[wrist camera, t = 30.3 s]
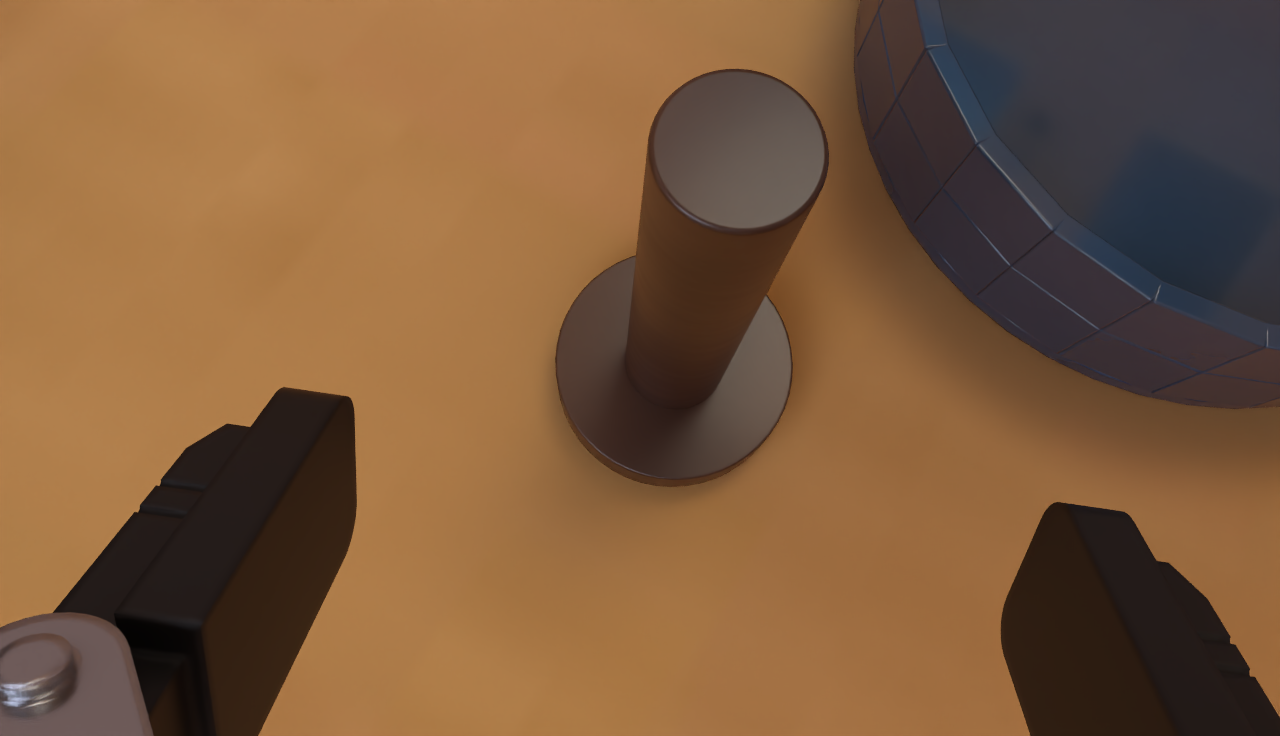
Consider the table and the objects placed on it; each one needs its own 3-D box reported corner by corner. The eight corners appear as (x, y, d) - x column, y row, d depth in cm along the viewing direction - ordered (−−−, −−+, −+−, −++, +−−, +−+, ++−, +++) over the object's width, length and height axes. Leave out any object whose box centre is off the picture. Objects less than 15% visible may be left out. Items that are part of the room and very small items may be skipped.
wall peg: (539, 468, 25) (482, 324, 13) (576, 252, 27) (557, -71, 14) (770, 503, 25) (942, 392, 13) (793, 284, 27) (969, -9, 14)
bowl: (822, 351, 26) (875, 289, 21) (880, -241, 31) (935, -406, 26) (1546, 458, 26) (1771, 422, 21) (1491, -148, 31) (1663, -295, 26)
